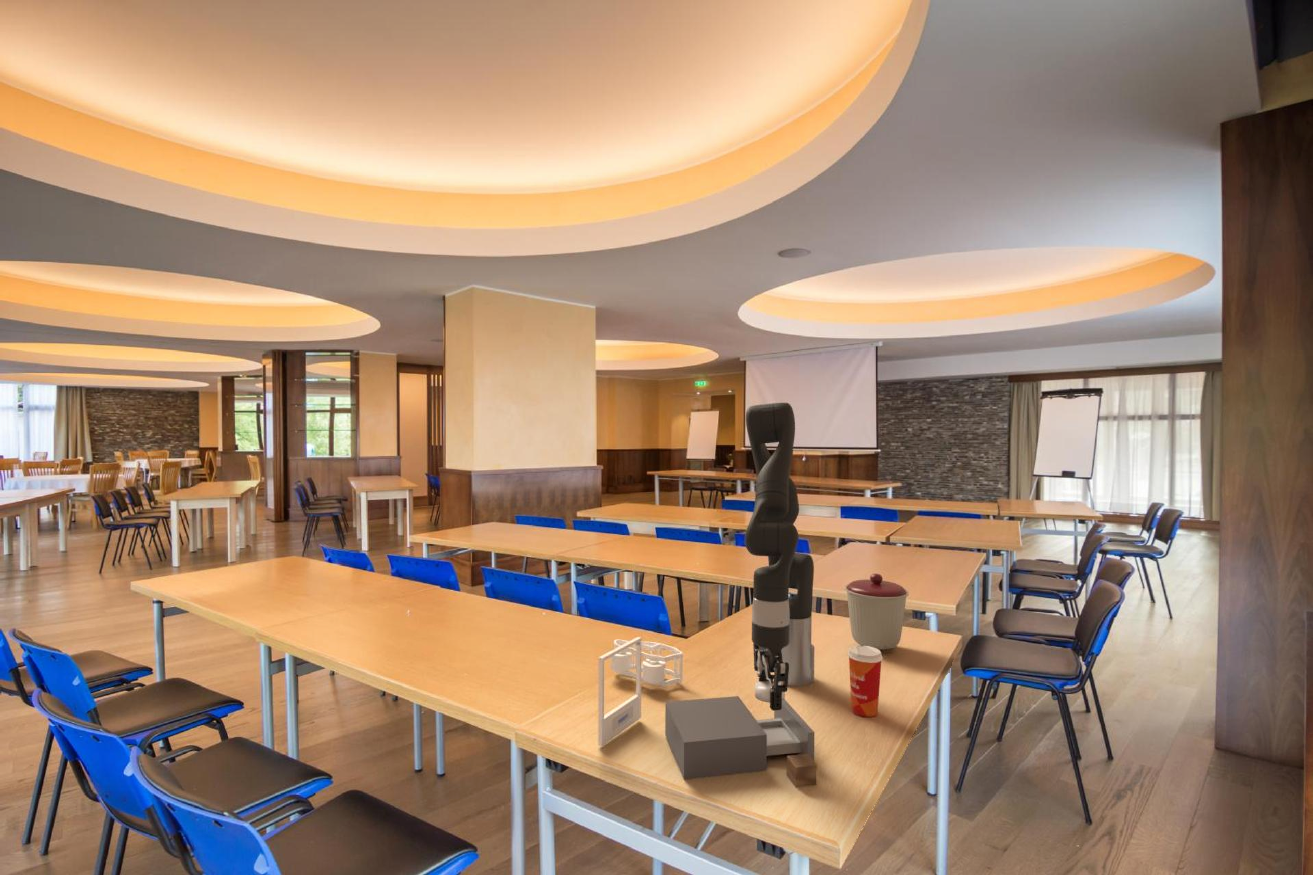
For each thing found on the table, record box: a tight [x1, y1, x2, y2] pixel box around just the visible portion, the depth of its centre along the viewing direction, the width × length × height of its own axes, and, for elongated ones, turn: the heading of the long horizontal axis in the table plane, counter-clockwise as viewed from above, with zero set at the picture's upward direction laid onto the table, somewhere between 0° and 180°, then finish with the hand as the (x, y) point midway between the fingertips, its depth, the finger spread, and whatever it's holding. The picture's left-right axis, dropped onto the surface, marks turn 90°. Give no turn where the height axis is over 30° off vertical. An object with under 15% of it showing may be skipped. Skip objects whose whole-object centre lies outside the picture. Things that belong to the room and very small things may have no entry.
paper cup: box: [846, 645, 884, 718], centre depth 142 cm, size 8×8×14 cm
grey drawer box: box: [664, 695, 768, 781], centre depth 124 cm, size 16×17×7 cm
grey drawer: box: [756, 699, 815, 763], centre depth 126 cm, size 15×17×6 cm
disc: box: [754, 680, 786, 704], centre depth 126 cm, size 6×6×2 cm
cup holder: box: [610, 639, 684, 688], centre depth 162 cm, size 20×11×7 cm, turn 51°
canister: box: [844, 573, 910, 651], centre depth 186 cm, size 18×18×21 cm
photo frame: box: [597, 636, 642, 747], centre depth 133 cm, size 15×1×18 cm, turn 149°
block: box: [786, 754, 818, 788], centre depth 114 cm, size 4×4×4 cm
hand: (769, 702), depth 126 cm, fingers closed on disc, 6 cm apart
